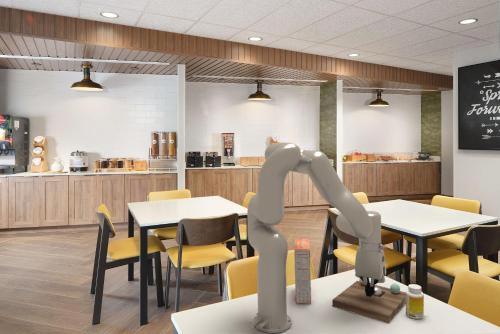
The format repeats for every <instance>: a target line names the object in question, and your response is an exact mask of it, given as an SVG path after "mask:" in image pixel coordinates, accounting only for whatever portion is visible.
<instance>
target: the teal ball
mask: <svg viewBox="0 0 500 334" xmlns="http://www.w3.org/2000/svg"><path fill="white" fill-rule="evenodd" d="M389 288H390V290H391V291H392V292H393V293H399V292H400V291H401V286H400V285H399V284H398V283H392V284H390V287H389Z"/></svg>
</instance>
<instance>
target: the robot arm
mask: <svg viewBox="0 0 500 334" xmlns="http://www.w3.org/2000/svg"><path fill="white" fill-rule="evenodd" d="M264 159H265V161H264V163H263V164H262V165H261V168H260V170H259V173H258V178H257V193H256V194H254V195H253V196H252V197H251V198H250V200H249V201H248V205H247V209H246V210H247V212H246V213H247V216H246V217H247V238H248V242H249V245H250V246H251V247H252V248H253V249H254V250H255V251H256V252H257V253H258V260H257V266H256V283H257V285H256V286H257V287H256V288H257V289H256V290H257V291H256V292H257V313H256V315H255V316H254V318H253V319H252V320H251V321H250V322H249V323H248V325H249V327H250V328H251V329H254V328H256V329H257V330H258V331H261V332H262V333H263V332H264V333H267V334H278V333H282V332H285V331H287V330H289V329H290V328H291V327H292V324H293V323H292V322H293V321H292V318H291V317H290V316H289V315H288V310H287V308H288V306H287V260H288V254H289V243H288V240H287V237H286V236H285V235H284V233H282V232H281V231H280V230H278V229H276V228H274V226H278V225H279V224H280V223H281V222H282V221H283V219H284V217H285V182H286V178H287V177H288V174H289V173H290V172H294V173H299V174H303V175H308V177H309V179H310V180H311V182H312V184H313V185H314V187H315V189H316V190H317V191H318V193H319V196H320V197H321V199H322V200H324V201H325V202H327V204H328V205H330V206H332V207H333V208H335V210H337V211H338V212H340V214H338V215H337V216H336V220H335V225H336V227H337V228H338V230H339V231H341V232H342V233H345V234H347V235H350V236H353V237H355V238H358V247H357V250H356V254H355V260H354V262H355V263H354V272H355V273H354V276H355V277H356V278H358V279H361V280H362V281H363V282H364V285H365V293H366V296H369V297H371V296H372V295H374V293H375V285H378V284H384V283H385V282H386V275H387V265H386V258H385V252H384V249H386V245H385V244H382V216H381V213H379V212H377V211H374V210H367V209H366V208H365V207H364V205H363V204H362V203H361V201H360V200H359V199H358V198H357V197H356V196H355V195H354V194H353V193H352V192H351V191H350V190H349V189H348V188H347V187H346V186H345V184H344V183H343V182H342V179H341V178H340V176H339V175H338V173H337V171H336V170H335V167H334V166H333V164H332V163H331V161H330V158H329V157H328V156H327V154H326V153H324V152H323V151H320V150H315V149H314V150H313V149H312V150H311V149H309V150H307V149H302V148H300V146H298V145H297V144H296V143H293V142H274V143H272V144H269V145H268V146H267V147H266V149H265V151H264Z"/></svg>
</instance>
